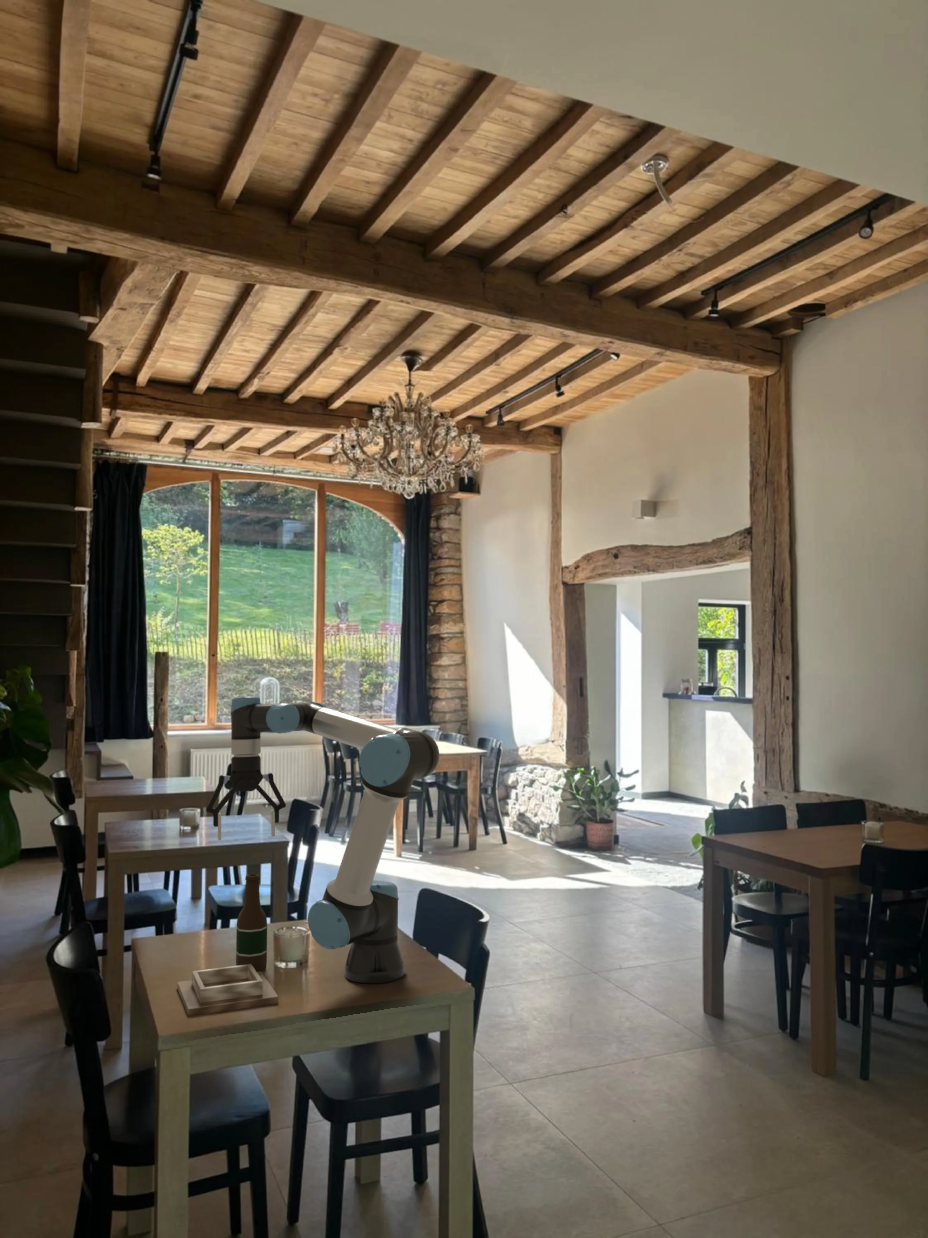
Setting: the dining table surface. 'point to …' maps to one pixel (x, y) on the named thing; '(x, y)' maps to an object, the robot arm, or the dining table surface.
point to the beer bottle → (252, 928)
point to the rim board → (225, 990)
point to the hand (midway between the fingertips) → (246, 837)
